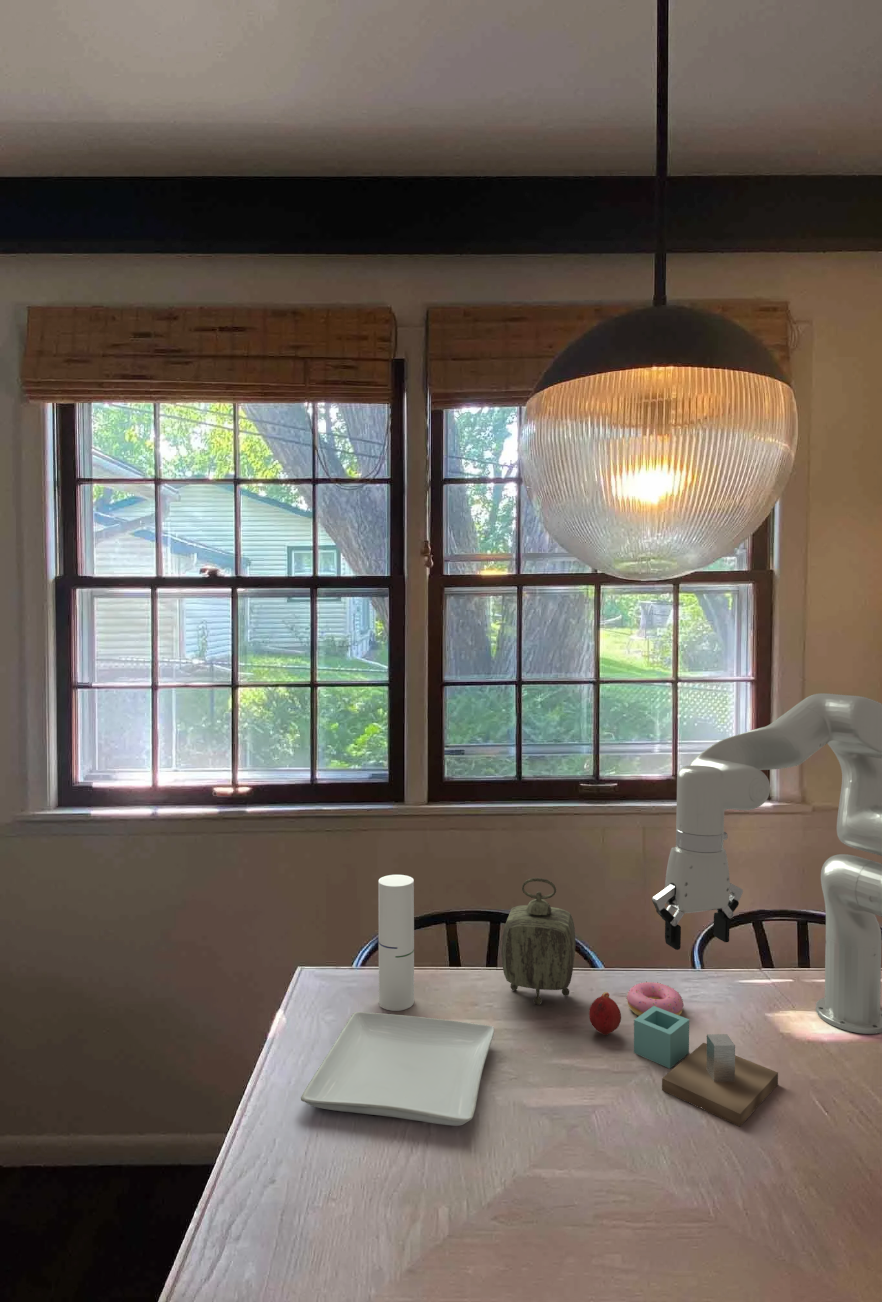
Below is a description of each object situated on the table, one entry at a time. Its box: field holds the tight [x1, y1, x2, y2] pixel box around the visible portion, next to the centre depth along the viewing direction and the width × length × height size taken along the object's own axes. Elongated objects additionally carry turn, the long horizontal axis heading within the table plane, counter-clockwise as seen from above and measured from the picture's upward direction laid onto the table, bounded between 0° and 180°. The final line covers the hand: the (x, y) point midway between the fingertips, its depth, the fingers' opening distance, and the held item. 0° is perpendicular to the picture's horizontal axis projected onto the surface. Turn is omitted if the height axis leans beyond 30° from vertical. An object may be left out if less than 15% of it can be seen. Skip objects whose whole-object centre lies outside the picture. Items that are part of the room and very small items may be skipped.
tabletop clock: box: [500, 877, 577, 1006], centre depth 155 cm, size 14×9×25 cm, turn 77°
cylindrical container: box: [377, 874, 415, 1012], centre depth 154 cm, size 7×7×25 cm
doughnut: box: [625, 981, 684, 1017], centre depth 151 cm, size 11×11×4 cm
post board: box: [661, 1033, 779, 1127], centre depth 125 cm, size 15×13×8 cm
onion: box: [588, 991, 622, 1036], centre depth 141 cm, size 6×6×8 cm
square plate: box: [300, 1011, 495, 1127], centre depth 129 cm, size 27×27×4 cm
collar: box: [633, 1006, 690, 1069], centre depth 136 cm, size 7×7×6 cm
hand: (697, 942), depth 126 cm, fingers open, 9 cm apart
